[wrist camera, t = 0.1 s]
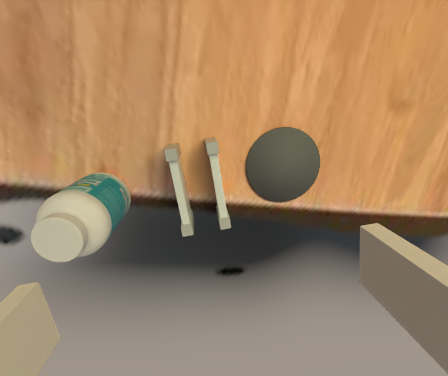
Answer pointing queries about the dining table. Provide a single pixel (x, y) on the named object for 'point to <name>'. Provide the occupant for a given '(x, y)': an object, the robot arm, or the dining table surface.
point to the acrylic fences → (176, 169)
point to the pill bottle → (80, 217)
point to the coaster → (283, 164)
